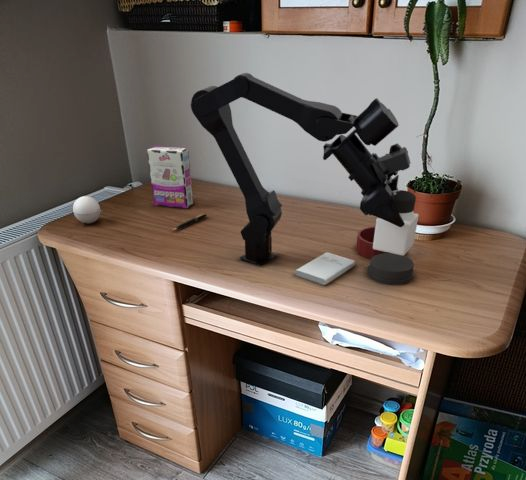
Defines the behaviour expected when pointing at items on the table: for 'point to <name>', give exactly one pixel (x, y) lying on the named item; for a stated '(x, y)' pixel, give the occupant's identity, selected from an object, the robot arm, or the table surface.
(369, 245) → the tin
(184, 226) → the fountain pen
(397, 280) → the stand
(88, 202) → the white sphere
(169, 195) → the candy bar box
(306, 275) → the hard drive
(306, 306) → the table surface
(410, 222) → the medicine bottle
